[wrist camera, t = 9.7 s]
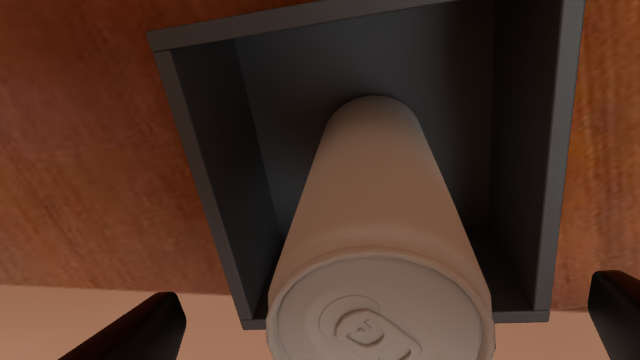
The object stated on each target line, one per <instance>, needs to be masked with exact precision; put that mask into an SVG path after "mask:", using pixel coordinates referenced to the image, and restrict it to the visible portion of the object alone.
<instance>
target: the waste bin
mask: <svg viewBox="0 0 640 360" xmlns="http://www.w3.org/2000/svg"><path fill="white" fill-rule="evenodd" d="M585 2H586V0H319V1H313V2H308V3H302V4H297V5H291V6H285V7H280V8H274V9H269V10H263V11H258V12H252V13H247V14H241V15H235V16H230V17H224V18H219V19H213V20H208V21H202V22H197V23H191V24H185V25H180V26H174V27H169V28H163V29H158V30H152V31H147V32H146V36H147V39H148V42H149V45H150V48H151V51H152V52H154V53H153V56H154V59H155V62H156V65H157V68H158V71H159V74H160V77H161V80H162V83H163V87H164V90H165V93H166V96H167V99H168V102H169V105H170V108H171V111H172V114H173V117H174V120H175V123H176V126H177V129H178V132H179V135H180V139H181V142H182V145H183V148H184V151H185V154H186V157H187V160H188V163H189V166H190V169H191V172H192V175H193V178H194V181H195V184H196V187H197V191H198V194H199V197H200V200H201V203H202V206H203V209H204V212H205V215H206V218H207V221H208V224H209V227H210V230H211V233H212V236H213V240H214V243H215V246H216V249H217V252H218V255H219V258H220V261H221V264H222V267H223V270H224V273H225V276H226V279H227V282H228V285H229V288H230V292H231V295H232V298H233V301H234V304H235V307H236V310H237V313H238V316H239V319H240V322H241V325H242V328H243V330H264V329H266V317H267V314H268V311H269V309H268V292H269V289H270V285H271V282H272V279H273V276H274V273H275V270H276V267H277V264H278V261H279V258H280V256H281V253H282V250H283V247H284V244H285V241H286V238H287V235H288V233H289V230H290V227H291V224H292V221H293V218H294V215H295V213H296V210H297V207H298V204H299V201H300V198H301V195H302V193H303V190H304V187H305V184H306V181H307V178H308V175H309V173H310V170H311V167H312V164H313V161H314V158H315V155H316V152H317V150H318V147H319V144H320V141H321V138H322V135H323V132H324V130H325V127H326V124H327V123H328V121H329V120H330V118H331V116H332V115H333V113H334V112H336V111H337V110H338V109H339V108H340V107H341V106H343V105H344V104H345V103H347V102H350V101H352V100H354V99H356V98H359V97H364V96H369V95H376V96H387V97H390V98H392V99H395V100H398V101H400V102H401V103H403V104H404V105H406V106H407V107H408V108H410V109H411V111H412V112H413V113H414V115H415V116H416V118H417V119H418V121H419V124H420V126H421V129H422V131H423V133H424V136H425V138H426V141H427V143H428V145H429V147H430V150H431V152H432V154H433V156H434V159H435V161H436V163H437V165H438V168H439V170H440V172H441V175H442V177H443V179H444V182H445V184H446V186H447V189H448V191H449V193H450V196H451V198H452V200H453V203H454V205H455V208H456V210H457V213H458V215H459V218H460V220H461V222H462V225H463V227H464V230H465V232H466V235H467V237H468V240H469V242H470V245H471V247H472V249H473V252H474V254H475V257H476V259H477V262H478V264H479V267H480V269H481V272H482V274H483V277H484V279H485V281H486V284H487V286H488V289H489V292H490V295H491V308H492V319H493V321H494V323H529V322H530V323H531V322H548V321H549V314H550V306H551V297H552V288H553V280H554V271H555V262H556V254H557V245H558V236H559V228H560V219H561V210H562V201H563V193H564V184H565V175H566V167H567V158H568V149H569V141H570V132H571V123H572V115H573V106H574V97H575V89H576V80H577V71H578V63H579V54H580V45H581V37H582V28H583V19H584V10H585Z"/></svg>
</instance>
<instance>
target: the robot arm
mask: <svg viewBox="0 0 640 360" xmlns="http://www.w3.org/2000/svg"><path fill="white" fill-rule="evenodd" d="M588 310H589V314H590V316H591V319H592V321H593V323H594V325H595V327H596V329H597V332H598V333H599V336H600V338H601V340H602V342H603V345H604V347H605V349H606V351H607V353H608V355H609V358H610V360H640V280H638V279H636V278H634V277H632V276H630V275H628V274H626V273H624V272H622V271H619V270H607V271H597V272H595V273H594V274H593V276H592V280H591V286H590V292H589V298H588ZM185 329H186V316H185V314H184V311H183V309H182V307H181V304H180V302H179V299H178V296H177V295H176V294H175V293H174V292H158V293H156V294H154V295H152V296H151V297H150V298H148V299H147V300H145V301H144V302H142V303H141V304H139V305H138V306H136V307H135V308H133V309H132V310H131V311H129V312H127V313H126V314H124V315H123V316H122V317H120V318H119V319H117V320H116V321H114V322H113V323H111V324H110V325H108V326H107V327H105V328H104V329H103V330H101V331H99V332H98V333H96V334H95V335H93V336H92V337H91V338H89V339H87V340H86V341H85V342H83V343H82V344H80V345H79V346H77V347H76V348H74V349H73V350H71V351H70V352H68V353H67V354H65V355H64V356H62V357H61V358H59V359H58V360H176V357H177V355H178V351H179V348H180V345H181V341H182V338H183V335H184V332H185Z"/></svg>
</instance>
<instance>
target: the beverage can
mask: <svg viewBox="0 0 640 360" xmlns="http://www.w3.org/2000/svg"><path fill="white" fill-rule="evenodd" d="M268 309H269V311H268V314H267V317H266V338H267V343H268V346H269V349H270V351H271V354H272V356H273V359H274V360H492V357H493V355H494V352H495V349H496V343H495V324H494V321H493V319H492V308H491V295H490V292H489V289H488V286H487V284H486V281H485V279H484V277H483V274H482V272H481V269H480V267H479V264H478V262H477V259H476V257H475V254H474V252H473V249H472V247H471V245H470V242H469V240H468V237H467V235H466V232H465V230H464V227H463V225H462V222H461V220H460V218H459V215H458V213H457V210H456V208H455V205H454V203H453V200H452V198H451V196H450V193H449V191H448V189H447V186H446V184H445V182H444V179H443V177H442V175H441V172H440V170H439V168H438V165H437V163H436V161H435V159H434V156H433V154H432V152H431V150H430V147H429V145H428V143H427V141H426V138H425V136H424V133H423V131H422V129H421V126H420V124H419V121H418V119H417V118H416V116H415V115H414V113H413V112H412V111H411V109H410V108H408V107H407V106H406V105H404V104H403V103H401V102H400V101H398V100H395V99H392V98H390V97H387V96H376V95H369V96H364V97H359V98H356V99H354V100H352V101H350V102H347V103H345V104H344V105H343V106H341V107H340V108H339V109H338V110H337V111H336V112H334V113H333V115H332V116H331V118H330V120H329V121H328V123H327V124H326V127H325V130H324V132H323V135H322V138H321V141H320V144H319V147H318V150H317V152H316V155H315V158H314V161H313V164H312V167H311V170H310V173H309V175H308V178H307V181H306V184H305V187H304V190H303V193H302V195H301V198H300V201H299V204H298V207H297V210H296V213H295V215H294V218H293V221H292V224H291V227H290V230H289V233H288V235H287V238H286V241H285V244H284V247H283V250H282V253H281V256H280V258H279V261H278V264H277V267H276V270H275V273H274V276H273V279H272V282H271V285H270V289H269V292H268Z"/></svg>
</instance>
